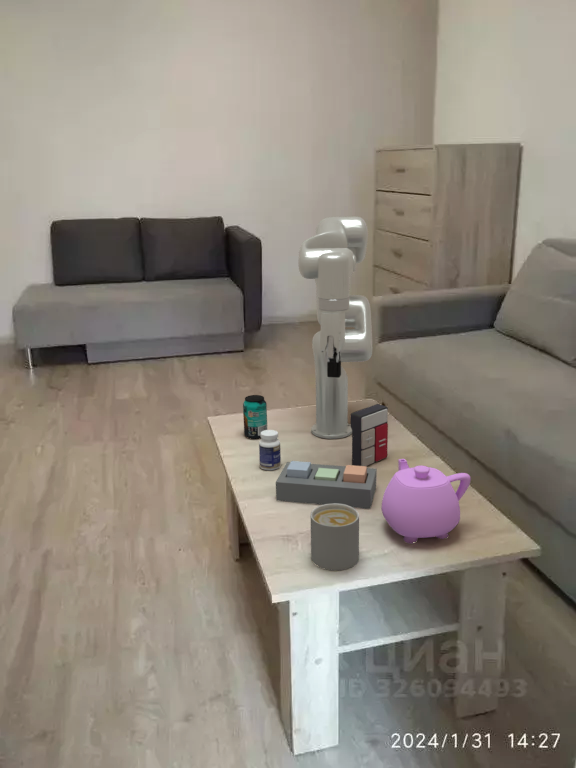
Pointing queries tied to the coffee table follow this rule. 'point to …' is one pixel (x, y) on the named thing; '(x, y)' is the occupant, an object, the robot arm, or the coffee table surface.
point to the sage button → (327, 474)
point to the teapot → (423, 502)
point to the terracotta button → (355, 474)
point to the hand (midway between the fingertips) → (334, 376)
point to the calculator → (369, 435)
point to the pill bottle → (269, 450)
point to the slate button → (299, 469)
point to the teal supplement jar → (254, 416)
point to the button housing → (326, 488)
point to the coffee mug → (335, 536)
